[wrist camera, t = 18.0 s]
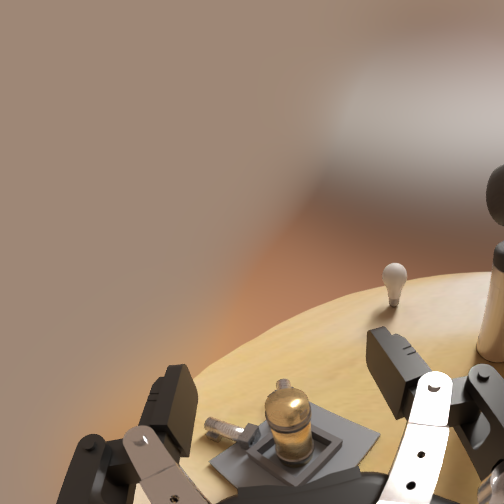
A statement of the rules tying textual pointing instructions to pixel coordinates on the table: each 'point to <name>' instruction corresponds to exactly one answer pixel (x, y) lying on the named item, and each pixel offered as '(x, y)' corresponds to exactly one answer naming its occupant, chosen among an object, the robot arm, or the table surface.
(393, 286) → the lightbulb
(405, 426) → the robot arm
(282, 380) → the shaft
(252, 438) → the shaft
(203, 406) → the table surface
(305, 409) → the gold cylindrical piece
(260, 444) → the stand
